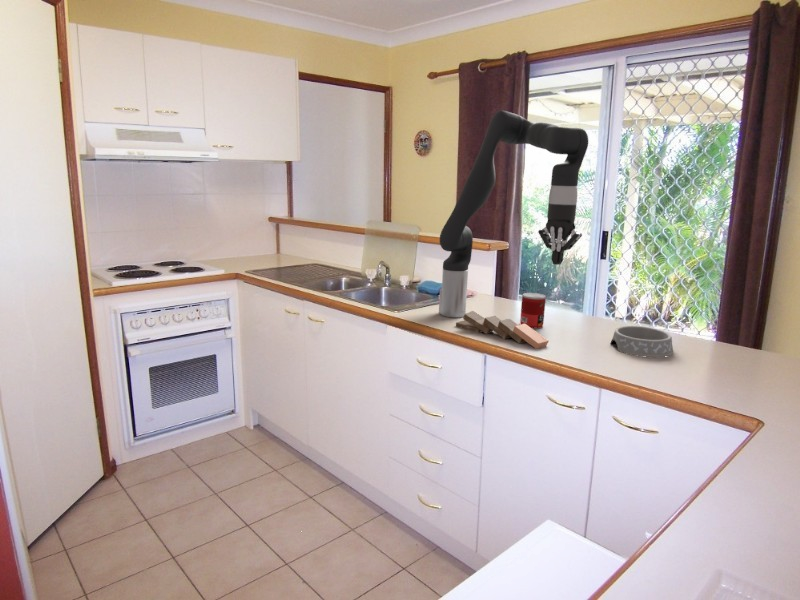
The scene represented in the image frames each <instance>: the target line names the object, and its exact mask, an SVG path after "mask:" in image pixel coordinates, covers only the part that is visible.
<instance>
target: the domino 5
mask: <svg viewBox="0 0 800 600" xmlns="http://www.w3.org/2000/svg"><path fill="white" fill-rule="evenodd" d="M513 332H515V333H516V334H517V335H519V336H520V337H521V338H523V339H524V340H525V341H526V342H525V343H528V344H529V345H530V346H532V347H533V348H534V349H535V350H537V349H540V348H544V347H547V345H548V343H549V339H547V338H545V337H544V336H543V335H542V334H540V333H539V332H537V331H536V330H535V329H534V328H530V327H529V326H528V325H526V324H521V323H520V324H517V326H515V327H514V330H513Z"/></svg>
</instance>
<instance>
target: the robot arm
mask: <svg viewBox="0 0 800 600" xmlns="http://www.w3.org/2000/svg"><path fill="white" fill-rule="evenodd" d="M482 141H483V142H482V144H481V147H480V149H479V152H478V154H477V156H476V159H475V162H474V163H473V166H472V167H471V168H472V169H471V170H470V172H469V174H468V176H467V178H466V181H465V183H464V186H463V188H462V189H461V190H462V191H461V193H460V194H459V198H458V199H457V201H456V203H455V206H454V208H453V210H452V212H451V214H450V215H449V217H448V219H447V220H446V222H445V224H444V226H443V227H442V229H441V231H440V235H439V245H440V247H441V249H443V250H444V251H445V252H450V254H449V256H448V257H447V258H446V259H445V260H443V262H442V281H441V288H440V289H439V297H438V298H439V303H438V313H439V314H440V315H441V316H442V317H446V318H447V317H448V318H462V317H463V318H464V315H465V314H466V313H467V297H468V296H467V295H468V293H467V292H468V280H469V279H468V277H469V276H468V275H469V265H470V264H471V260H472V253H473V243H474V241H473V240H474V239H473V232H472V230H471V228H470V227H469V226H467V225H468V223H469V221H470V220H471V218H472V217H473V216H474V215H475V214H476V213H477V212H478V211H479V210H480V209H481V208H482V207H483V206H484V205H485V203H486V202H487V201H488V199H489V197H490V195H491V193H492V191H493V189H494V187H495V184H496V169H495V168H496V167H495V154H496V151H497V147H498V145H499V143H500V142H501V143H504V144H507V145H524V144H525V145H531V146H533V147H536V148H539V149H542V150H546V151H548V152H549V153H552V154H556V155H566V157H565V160H564V162H561V163H557V164H555V165H554V166H553V167H552V171H551V179H550V181H551V183H550V190H549V195H548V206H547V214H546V215H547V217H546V218H547V221H546V223H545V227H543V228H541V229H539V230H538V235H539V236H540V238H541V240H542V242H543V244H544V245H545V248H547V249H549V250H551V263H552V265H555V266H556V265H557V266H559V265H561V264H562V263H563V262H564V253H565V252H566V251H569V250H571V249H572V248H573V247H574V245H575V244H576V243H577V242H578V241H579V239H580V240H581V238H582V236H583V234H582V233H581V232H578V231H577V230H576V225H575V220H576V212H577V203H578V183H579V173H580V169H581V167H582V164H583V162H584V158H585V155H586V152H587V150H588V147H589V136H588V133H587V131H586V130H585V129H584V128H581V127H579V128H578V127H567V126H558V125H556V124H554V123H553V124H552V123H547V122H536V123H534V122H531V121H529V120H528V119H526V118H524V117H523V116H521V115H520V114H516V113H512V112H510V111H507V110H501V109H500V110H497V111H496V112H495V113H494V115H493V116H492V118H491V119H490V121H489V124H488V126H487V129H486V132H485V136H484V138H483V140H482ZM569 237H570V238H569Z"/></svg>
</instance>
